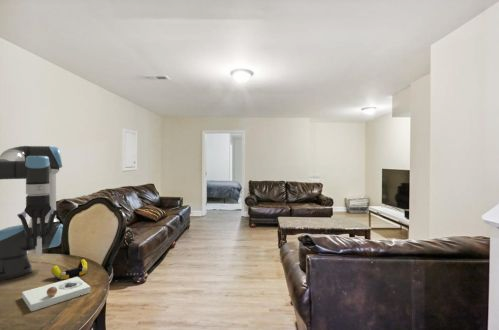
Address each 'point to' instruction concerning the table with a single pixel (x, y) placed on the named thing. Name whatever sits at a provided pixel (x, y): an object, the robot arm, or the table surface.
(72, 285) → the ball
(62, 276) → the gaming controller
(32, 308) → the plate
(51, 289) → the wood ball
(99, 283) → the table surface
